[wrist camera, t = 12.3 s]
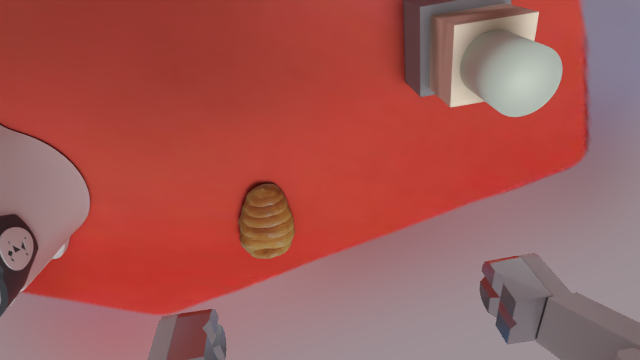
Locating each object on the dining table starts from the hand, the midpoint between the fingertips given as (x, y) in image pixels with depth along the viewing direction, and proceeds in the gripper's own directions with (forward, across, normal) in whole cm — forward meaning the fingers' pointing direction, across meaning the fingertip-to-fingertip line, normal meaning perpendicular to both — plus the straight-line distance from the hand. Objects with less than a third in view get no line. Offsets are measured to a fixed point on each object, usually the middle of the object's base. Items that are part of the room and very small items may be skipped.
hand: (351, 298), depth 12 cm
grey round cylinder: (+21, -15, +1) cm, 26 cm away
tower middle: (+26, -15, +1) cm, 30 cm away
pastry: (+32, +7, +19) cm, 38 cm away
